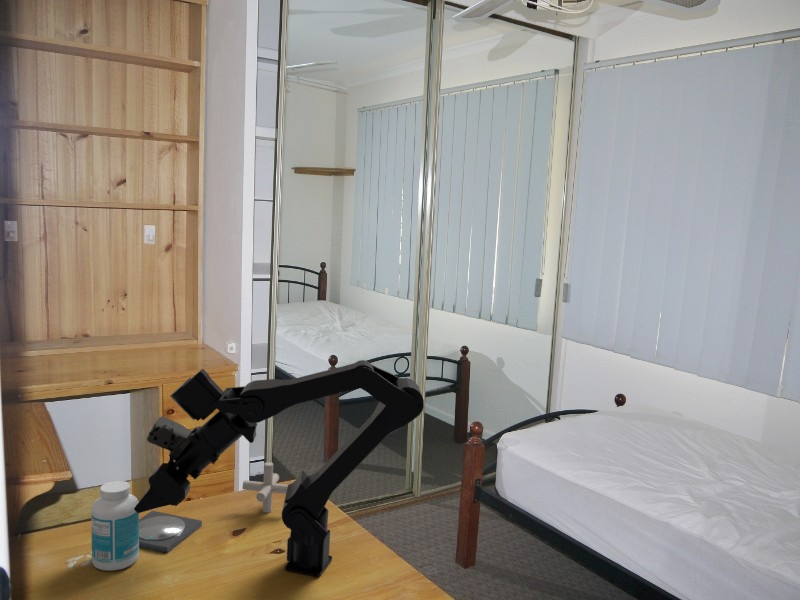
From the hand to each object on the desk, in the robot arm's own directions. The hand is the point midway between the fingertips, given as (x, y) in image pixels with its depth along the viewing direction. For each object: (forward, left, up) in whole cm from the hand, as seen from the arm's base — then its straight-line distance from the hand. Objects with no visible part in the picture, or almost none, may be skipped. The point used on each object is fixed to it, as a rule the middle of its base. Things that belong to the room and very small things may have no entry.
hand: (144, 498), depth 113 cm
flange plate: (+3, -9, -11) cm, 15 cm away
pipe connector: (-11, -25, -12) cm, 30 cm away
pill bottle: (+4, +2, -12) cm, 13 cm away
